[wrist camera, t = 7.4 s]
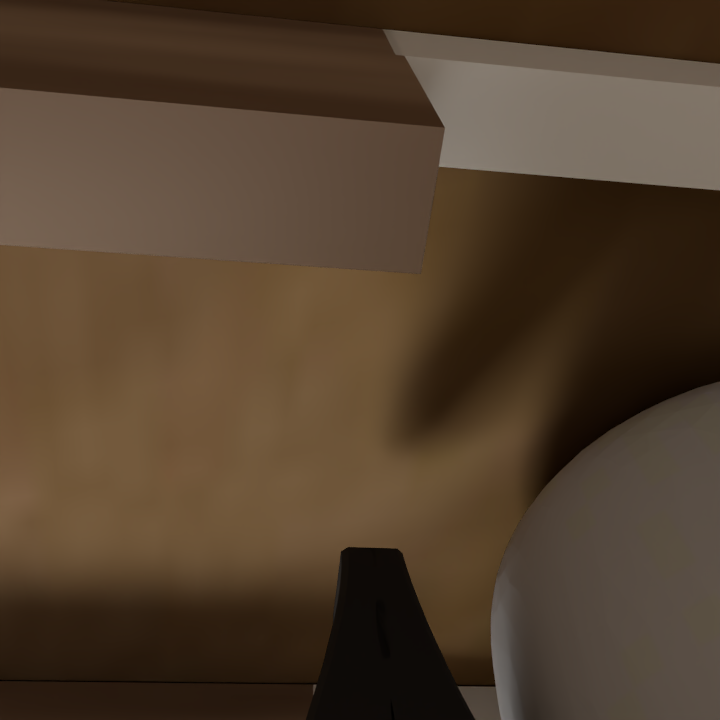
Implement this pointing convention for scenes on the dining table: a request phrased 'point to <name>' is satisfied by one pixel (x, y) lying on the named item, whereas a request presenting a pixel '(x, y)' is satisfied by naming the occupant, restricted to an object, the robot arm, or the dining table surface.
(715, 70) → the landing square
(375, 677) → the robot arm
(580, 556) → the teacup
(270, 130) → the open wooden tray
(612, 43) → the dining table surface
